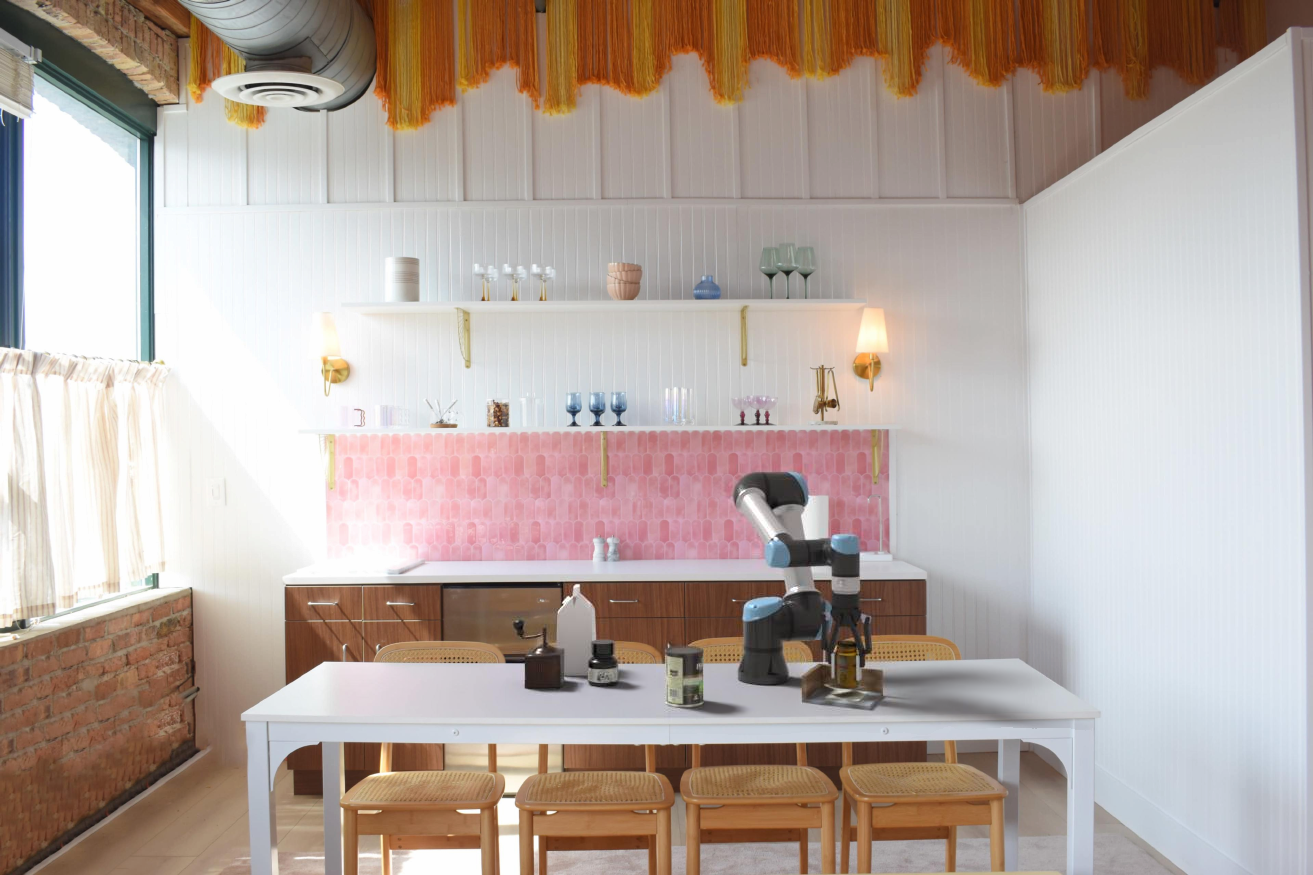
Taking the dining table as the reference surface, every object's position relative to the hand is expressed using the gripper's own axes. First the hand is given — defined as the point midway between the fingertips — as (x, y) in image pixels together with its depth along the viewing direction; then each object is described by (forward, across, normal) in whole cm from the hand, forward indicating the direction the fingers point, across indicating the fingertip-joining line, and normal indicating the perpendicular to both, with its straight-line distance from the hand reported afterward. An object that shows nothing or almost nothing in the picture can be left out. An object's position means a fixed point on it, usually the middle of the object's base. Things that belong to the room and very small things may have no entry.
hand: (846, 677), depth 248 cm
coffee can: (+6, -38, -22) cm, 44 cm away
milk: (+6, -83, -3) cm, 83 cm away
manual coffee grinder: (+6, -85, -22) cm, 88 cm away
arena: (+6, -1, 0) cm, 6 cm away
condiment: (+3, -1, 0) cm, 3 cm away
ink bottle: (+6, -68, -13) cm, 70 cm away
